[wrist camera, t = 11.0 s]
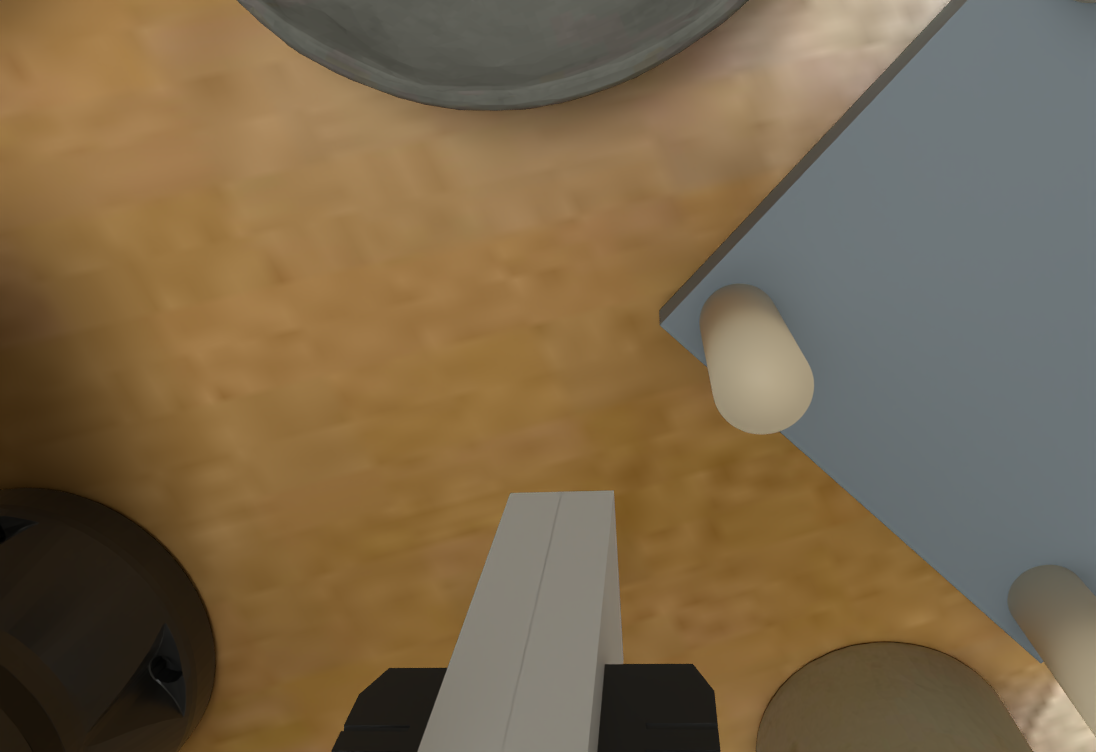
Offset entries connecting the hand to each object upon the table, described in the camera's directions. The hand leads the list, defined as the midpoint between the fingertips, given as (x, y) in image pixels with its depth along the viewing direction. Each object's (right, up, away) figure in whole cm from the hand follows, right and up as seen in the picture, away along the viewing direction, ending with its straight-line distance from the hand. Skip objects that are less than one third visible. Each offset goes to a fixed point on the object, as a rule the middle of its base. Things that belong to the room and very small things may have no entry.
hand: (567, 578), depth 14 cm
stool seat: (+18, +6, +22) cm, 29 cm away
